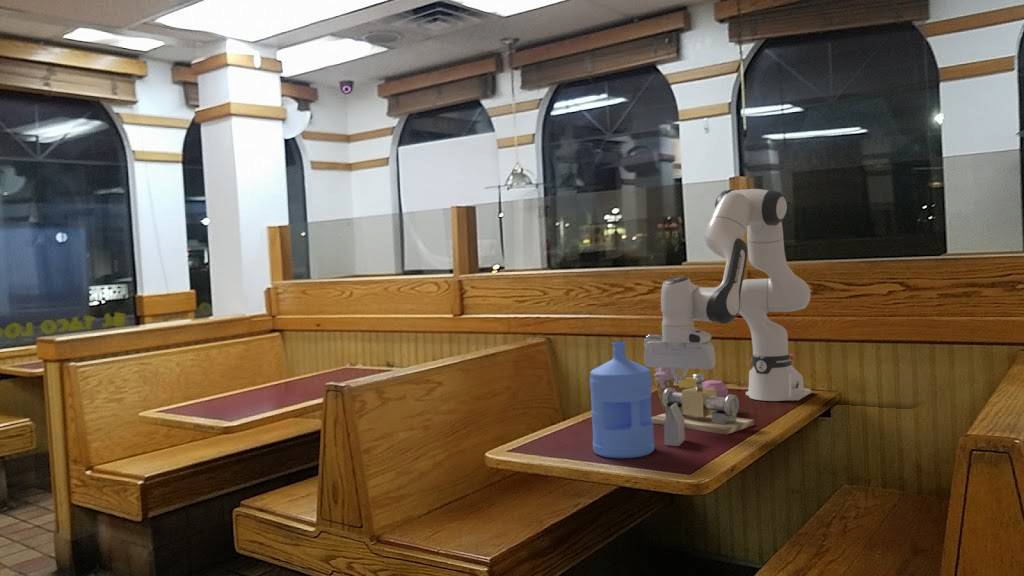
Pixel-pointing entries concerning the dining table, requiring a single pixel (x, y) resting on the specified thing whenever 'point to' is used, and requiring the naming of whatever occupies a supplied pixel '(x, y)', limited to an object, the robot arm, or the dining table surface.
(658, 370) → the ice cream cone
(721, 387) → the cupcake
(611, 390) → the water jug
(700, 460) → the dining table surface
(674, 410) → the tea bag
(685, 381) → the lever
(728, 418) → the valve assembly
